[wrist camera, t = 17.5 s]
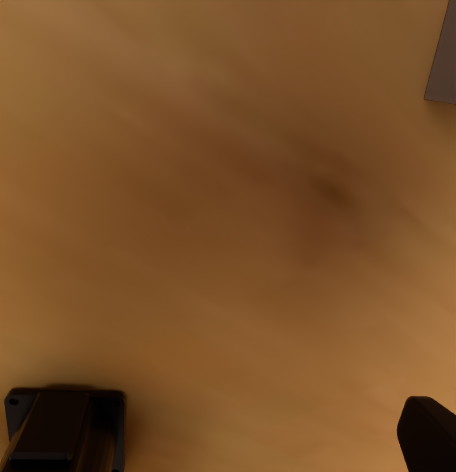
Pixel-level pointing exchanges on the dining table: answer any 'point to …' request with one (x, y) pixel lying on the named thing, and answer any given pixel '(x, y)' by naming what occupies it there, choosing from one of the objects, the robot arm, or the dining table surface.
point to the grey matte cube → (445, 62)
